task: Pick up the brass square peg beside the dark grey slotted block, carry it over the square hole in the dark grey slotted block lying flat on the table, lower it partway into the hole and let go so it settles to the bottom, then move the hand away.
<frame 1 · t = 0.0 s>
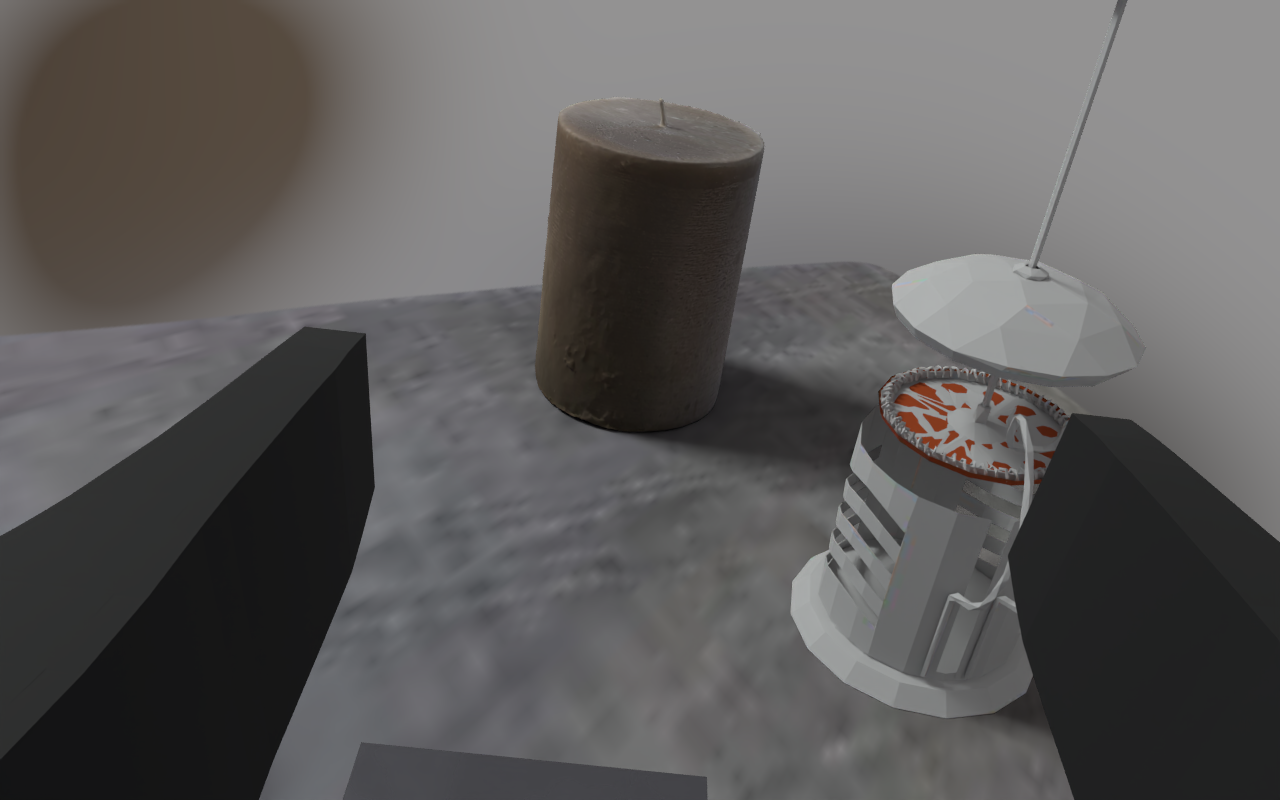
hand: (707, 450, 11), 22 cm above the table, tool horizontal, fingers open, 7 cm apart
pillar candle: (629, 385, 55), on the table
french press: (916, 640, 40), on the table
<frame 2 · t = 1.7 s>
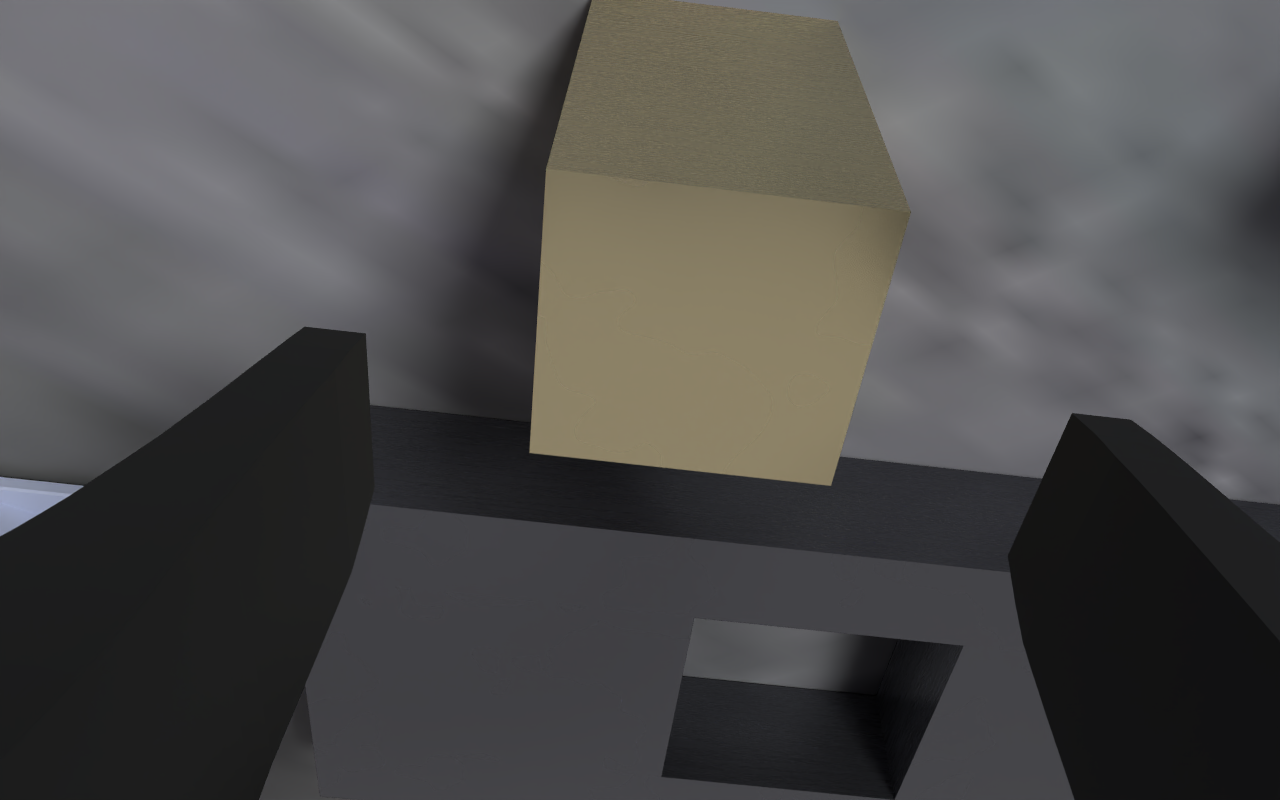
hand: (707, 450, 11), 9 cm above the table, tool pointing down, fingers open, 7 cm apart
brass peg: (699, 123, 18), on the table
dark grey slotted block: (791, 612, 25), on the table
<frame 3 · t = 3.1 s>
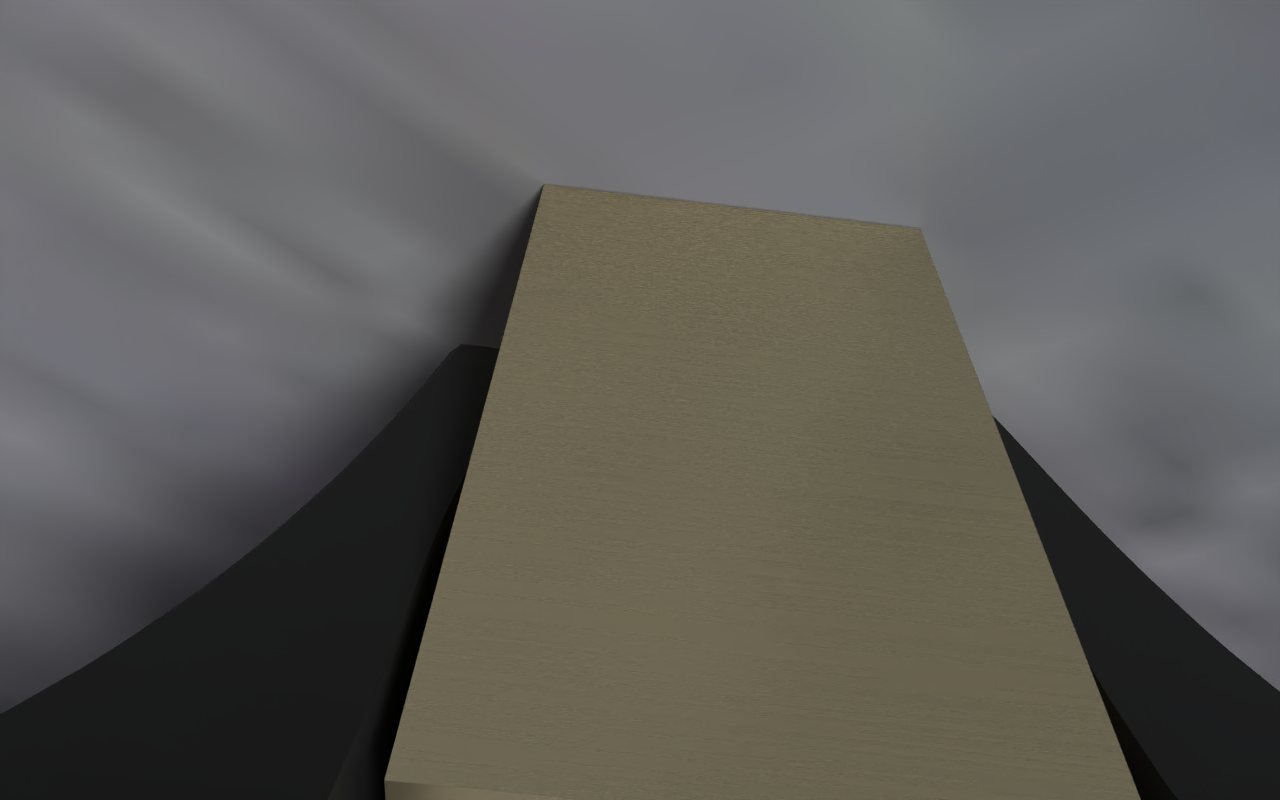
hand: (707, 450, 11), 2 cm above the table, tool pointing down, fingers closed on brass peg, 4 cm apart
brass peg: (705, 362, 12), on the table, touching gripper
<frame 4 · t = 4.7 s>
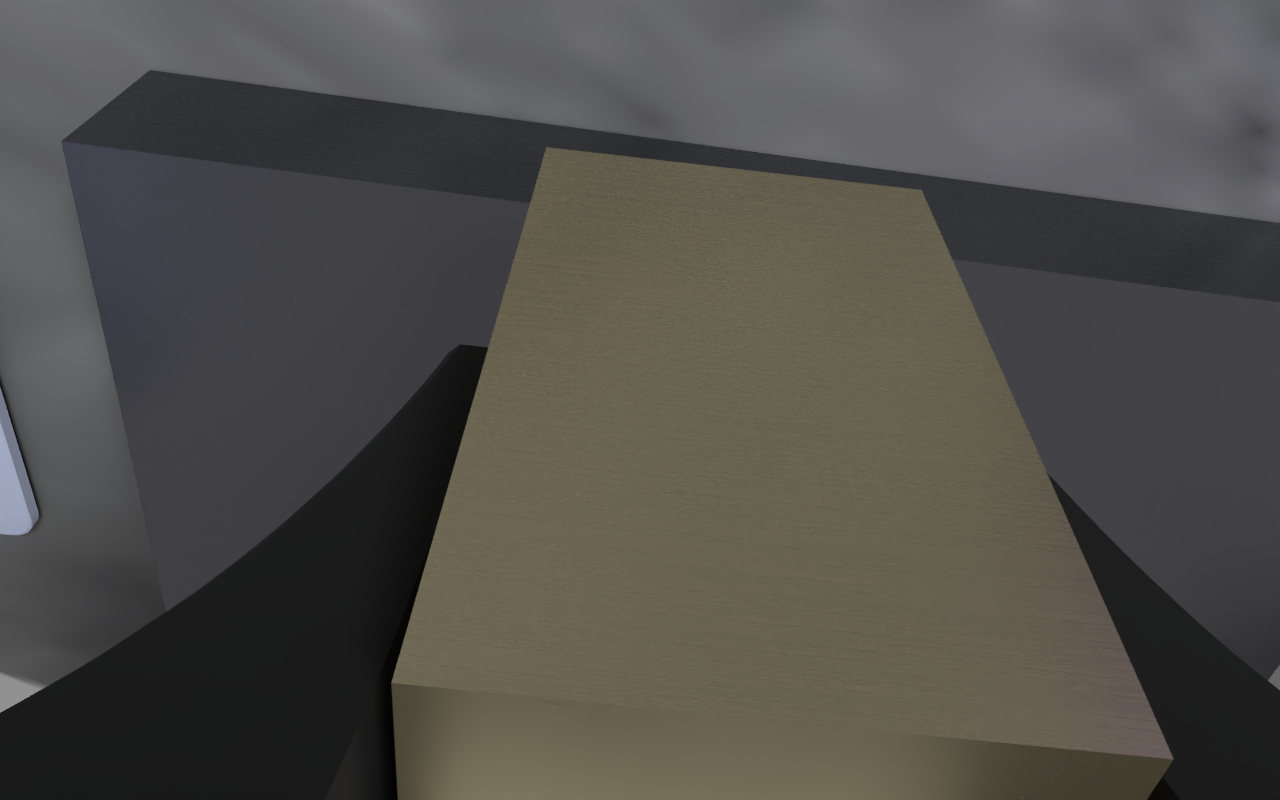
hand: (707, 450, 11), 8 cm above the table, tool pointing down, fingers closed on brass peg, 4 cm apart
brass peg: (708, 328, 12), point 7 cm above the table, touching gripper
dark grey slotted block: (746, 392, 21), on the table
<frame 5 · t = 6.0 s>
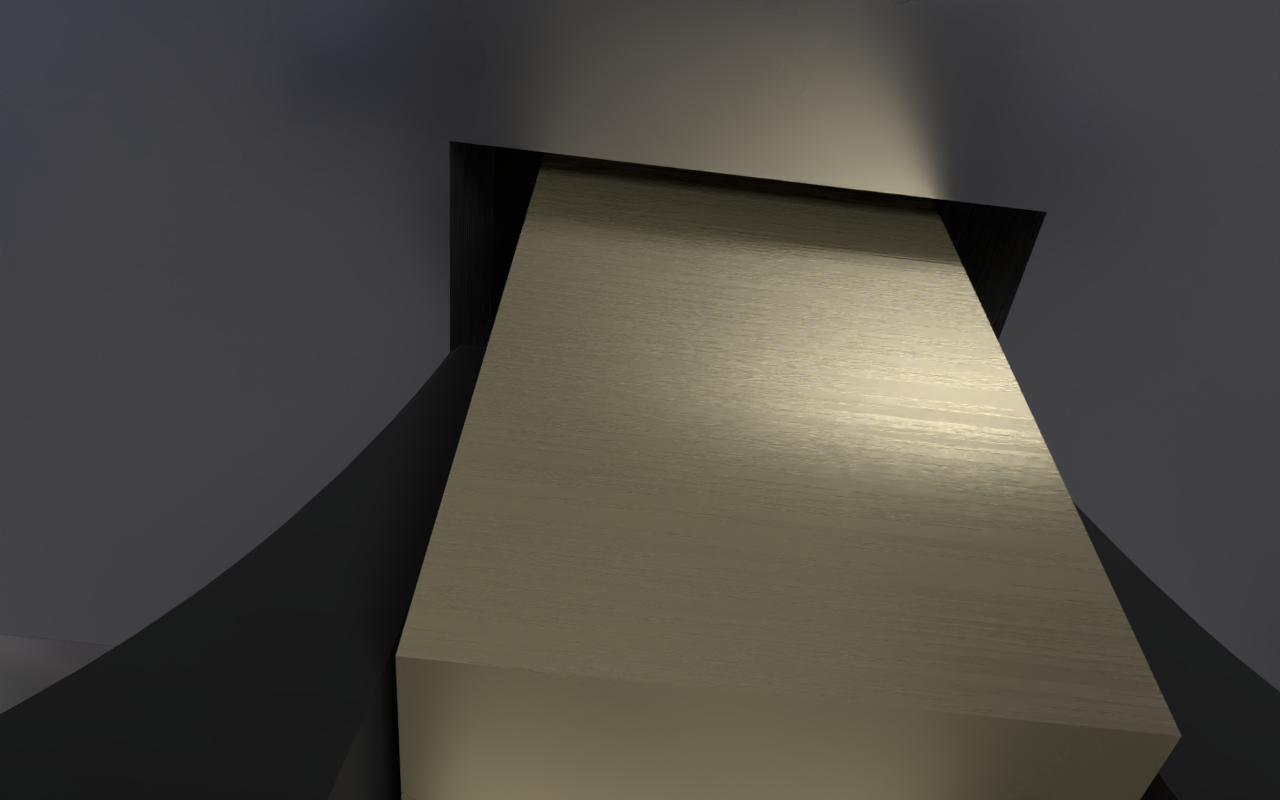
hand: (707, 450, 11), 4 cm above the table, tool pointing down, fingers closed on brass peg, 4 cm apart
brass peg: (709, 321, 12), point 2 cm above the table, touching gripper
dark grey slotted block: (704, 277, 14), on the table
when the fingers open (4 cm above the table, at t = 6.8 s): brass peg drops 2 cm, resting in dark grey slotted block.
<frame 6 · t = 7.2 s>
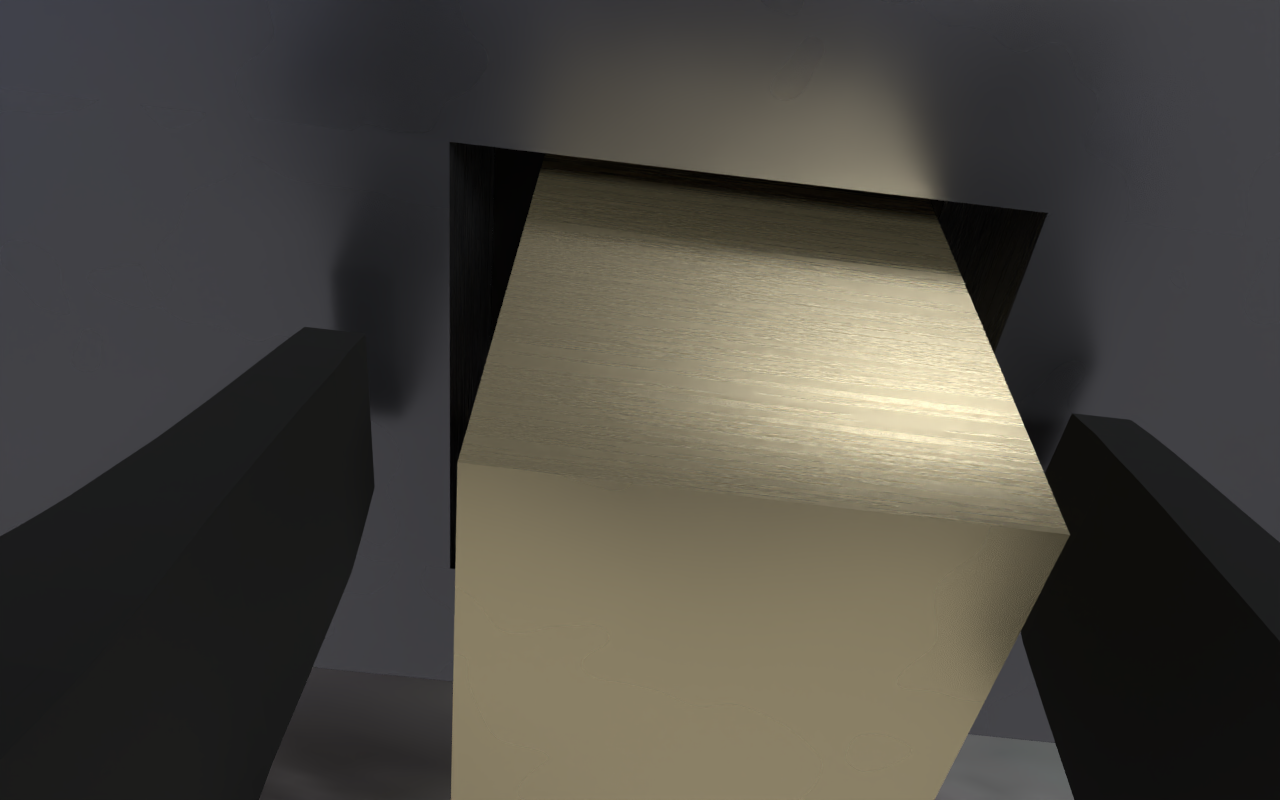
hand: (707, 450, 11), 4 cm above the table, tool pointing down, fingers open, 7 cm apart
brass peg: (706, 251, 13), resting in dark grey slotted block
dark grey slotted block: (704, 277, 14), on the table
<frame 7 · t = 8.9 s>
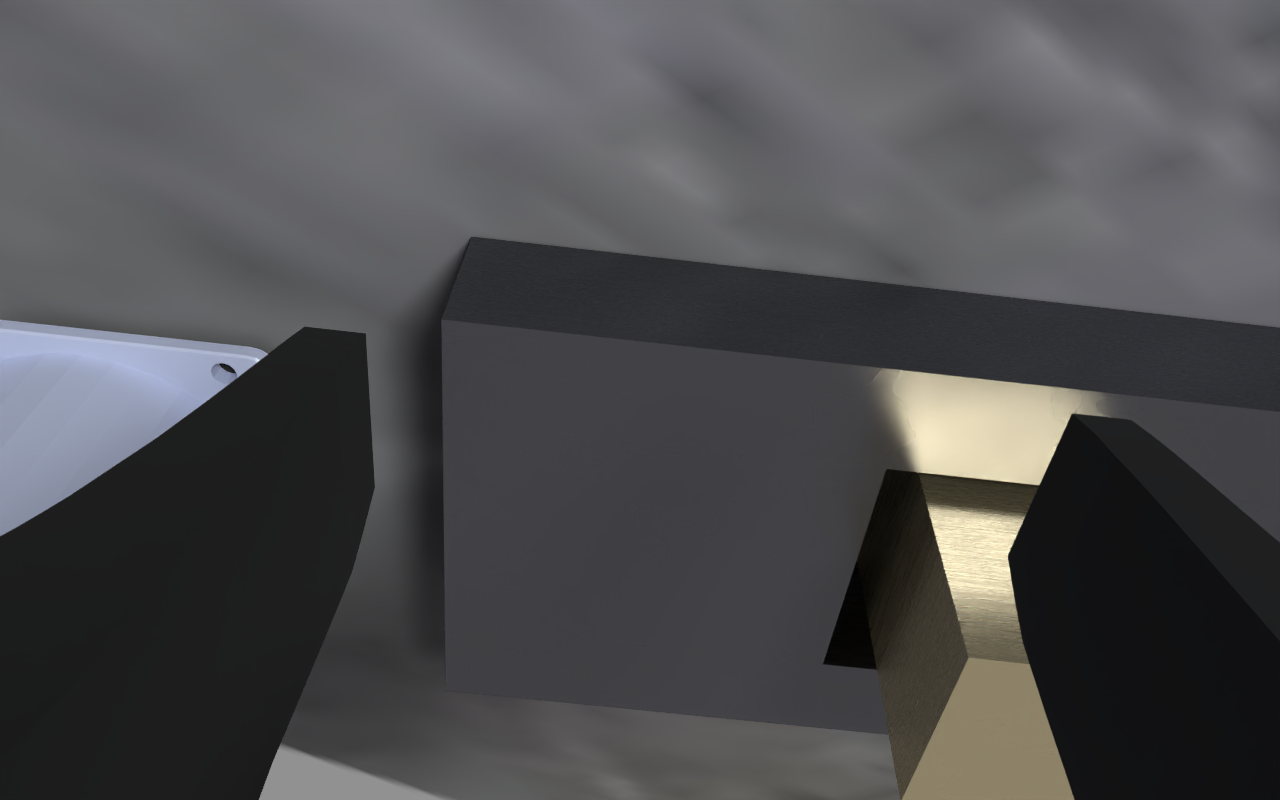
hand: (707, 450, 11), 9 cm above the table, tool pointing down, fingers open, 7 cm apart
brass peg: (961, 476, 23), resting in dark grey slotted block
dark grey slotted block: (958, 489, 23), on the table
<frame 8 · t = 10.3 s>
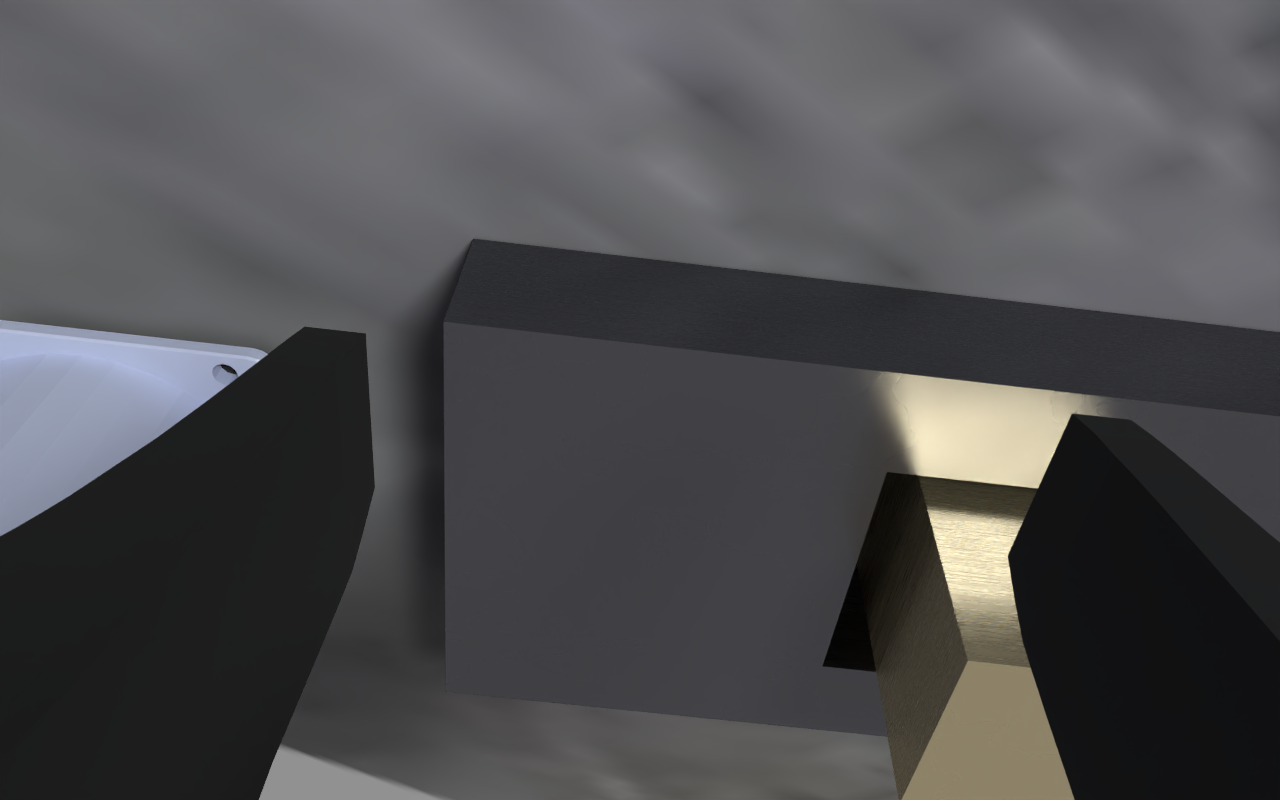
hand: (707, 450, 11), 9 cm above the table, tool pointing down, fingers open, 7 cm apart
brass peg: (961, 478, 23), resting in dark grey slotted block
dark grey slotted block: (957, 492, 23), on the table
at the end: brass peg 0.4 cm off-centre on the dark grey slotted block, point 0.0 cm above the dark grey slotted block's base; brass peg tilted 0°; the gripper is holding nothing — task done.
